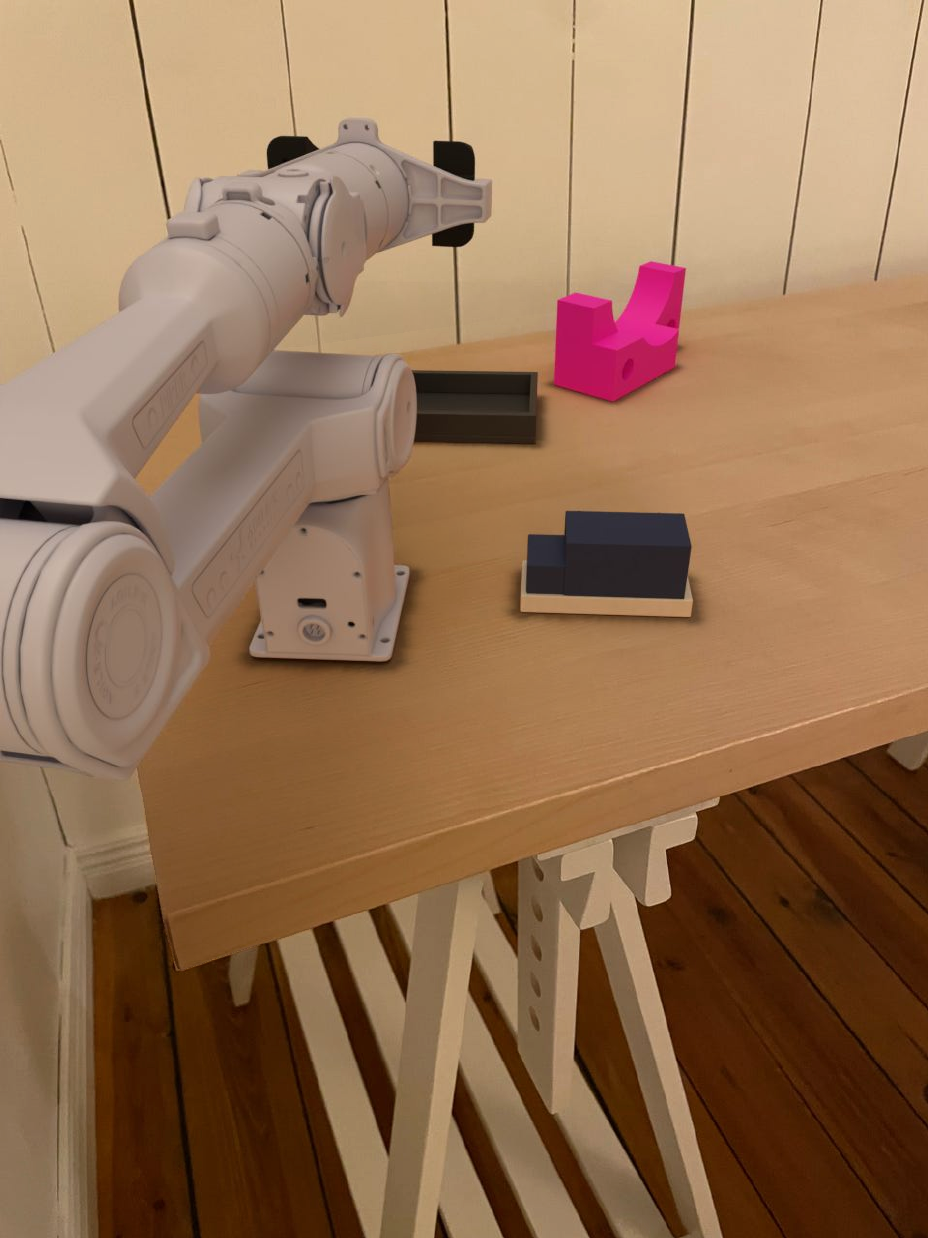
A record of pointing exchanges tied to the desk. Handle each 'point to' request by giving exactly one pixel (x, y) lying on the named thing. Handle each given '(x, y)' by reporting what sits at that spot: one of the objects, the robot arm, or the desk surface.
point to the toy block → (620, 335)
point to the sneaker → (610, 566)
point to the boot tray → (476, 406)
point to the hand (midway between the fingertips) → (399, 175)
